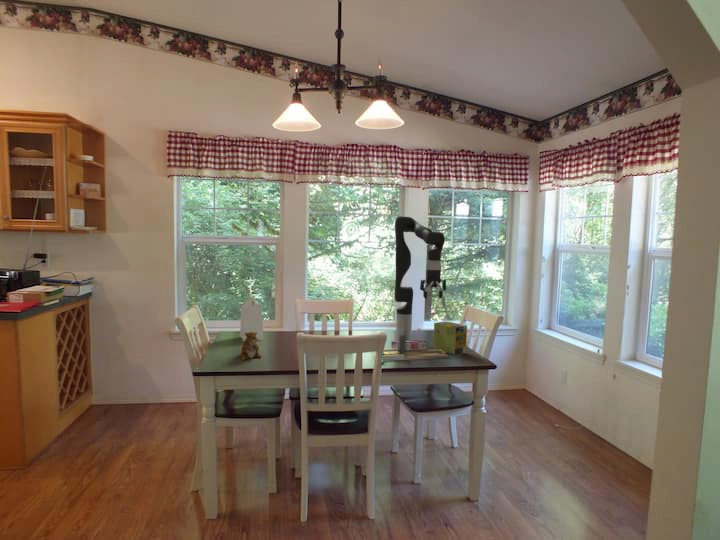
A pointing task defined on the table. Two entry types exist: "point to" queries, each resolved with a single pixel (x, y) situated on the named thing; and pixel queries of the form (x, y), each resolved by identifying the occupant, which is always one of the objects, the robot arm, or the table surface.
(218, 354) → the table surface
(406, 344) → the candy bar box
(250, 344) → the stuffed squirrel
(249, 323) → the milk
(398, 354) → the chip
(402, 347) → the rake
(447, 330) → the protein box
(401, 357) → the tray
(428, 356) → the slot board
